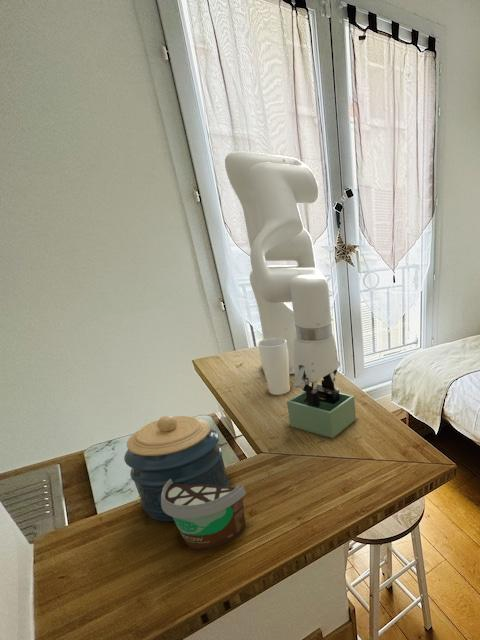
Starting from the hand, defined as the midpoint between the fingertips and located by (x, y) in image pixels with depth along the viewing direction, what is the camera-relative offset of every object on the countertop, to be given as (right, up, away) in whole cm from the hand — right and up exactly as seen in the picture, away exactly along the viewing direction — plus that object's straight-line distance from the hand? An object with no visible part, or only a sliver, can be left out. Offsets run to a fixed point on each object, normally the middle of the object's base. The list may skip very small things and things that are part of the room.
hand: (321, 399), depth 97 cm
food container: (-5, -22, -31) cm, 38 cm away
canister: (-14, -17, -23) cm, 32 cm away
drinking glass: (-18, +1, +14) cm, 24 cm away
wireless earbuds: (0, -1, 0) cm, 1 cm away
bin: (-1, -6, +3) cm, 7 cm away
